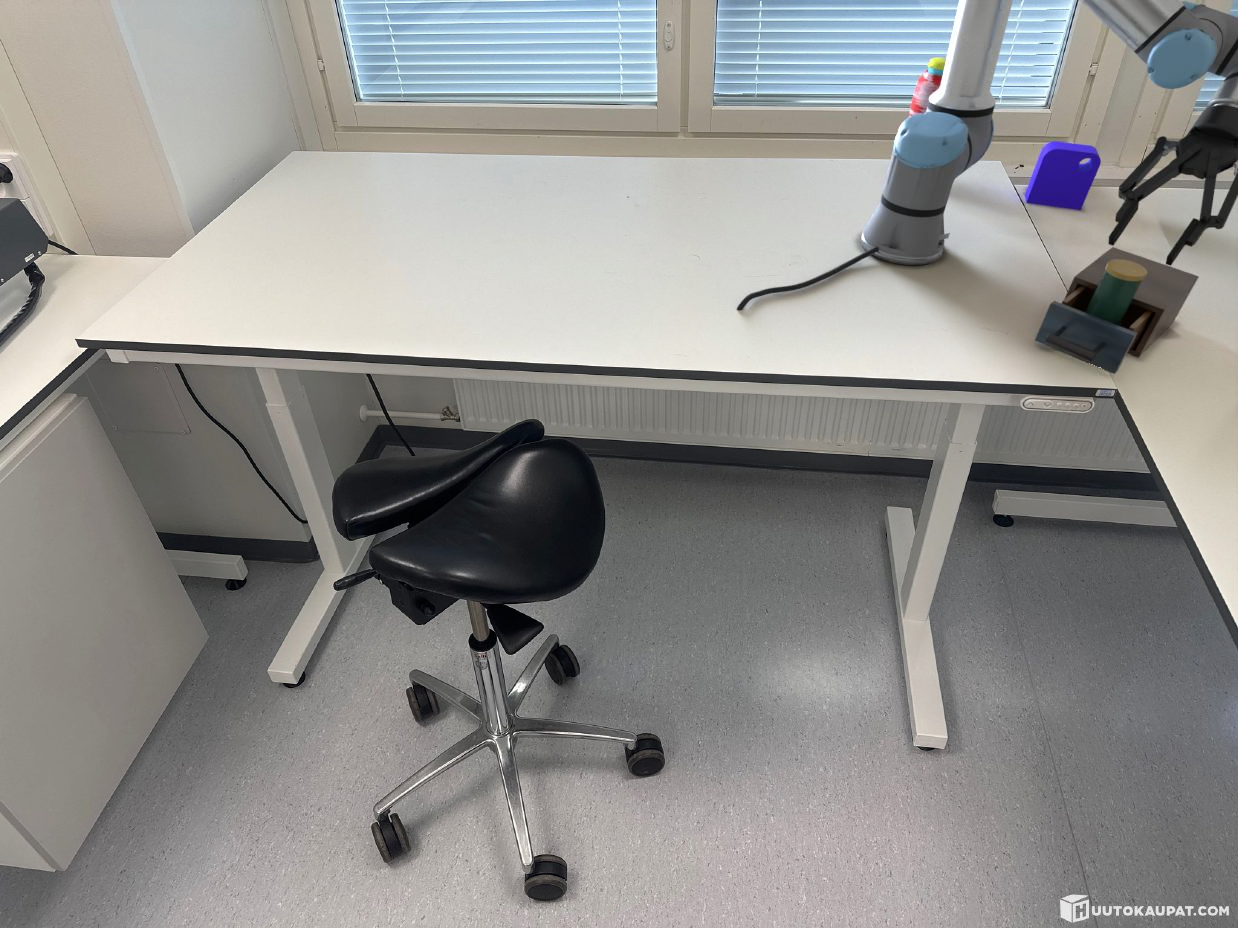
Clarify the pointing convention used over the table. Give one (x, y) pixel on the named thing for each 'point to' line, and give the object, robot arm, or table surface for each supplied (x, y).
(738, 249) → the table surface
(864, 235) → the robot arm
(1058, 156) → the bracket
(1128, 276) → the tea tin
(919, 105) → the water bottle
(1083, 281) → the cabinet
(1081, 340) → the drawer
